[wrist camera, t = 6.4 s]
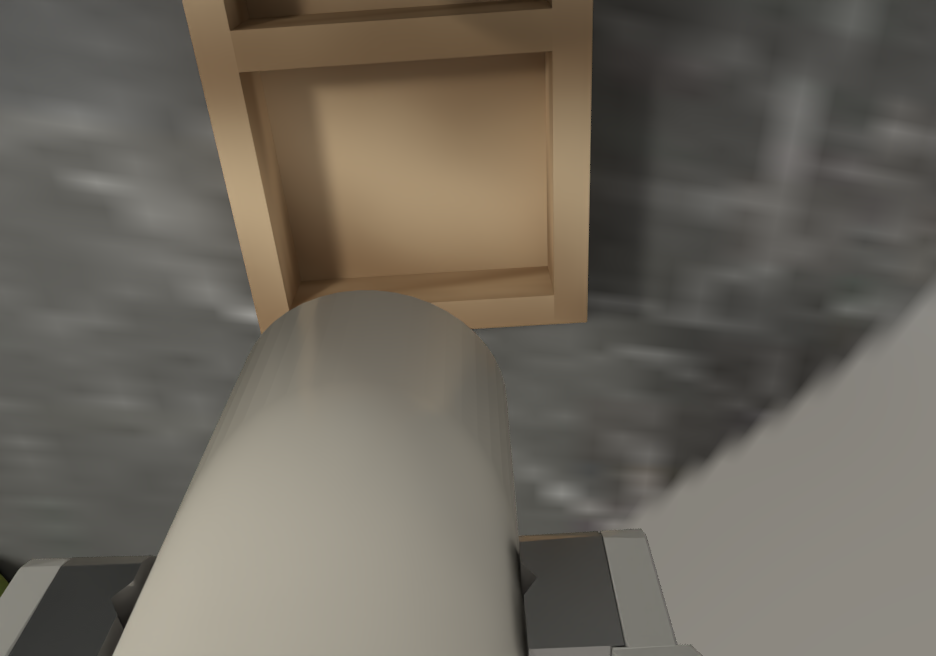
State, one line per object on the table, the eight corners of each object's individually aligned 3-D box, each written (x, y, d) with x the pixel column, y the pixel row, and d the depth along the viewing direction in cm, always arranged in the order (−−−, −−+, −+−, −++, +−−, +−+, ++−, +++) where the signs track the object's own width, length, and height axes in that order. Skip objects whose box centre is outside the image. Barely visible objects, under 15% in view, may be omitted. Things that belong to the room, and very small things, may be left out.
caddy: (142, -359, 17) (86, -401, 15) (580, -396, 17) (601, -445, 14) (283, 295, 26) (262, 341, 23) (574, 277, 26) (587, 322, 23)
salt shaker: (212, 299, 12) (-162, 919, 5) (501, 281, 11) (562, 893, 4) (269, 511, 14) (74, 1145, 7) (511, 499, 14) (561, 1131, 7)
